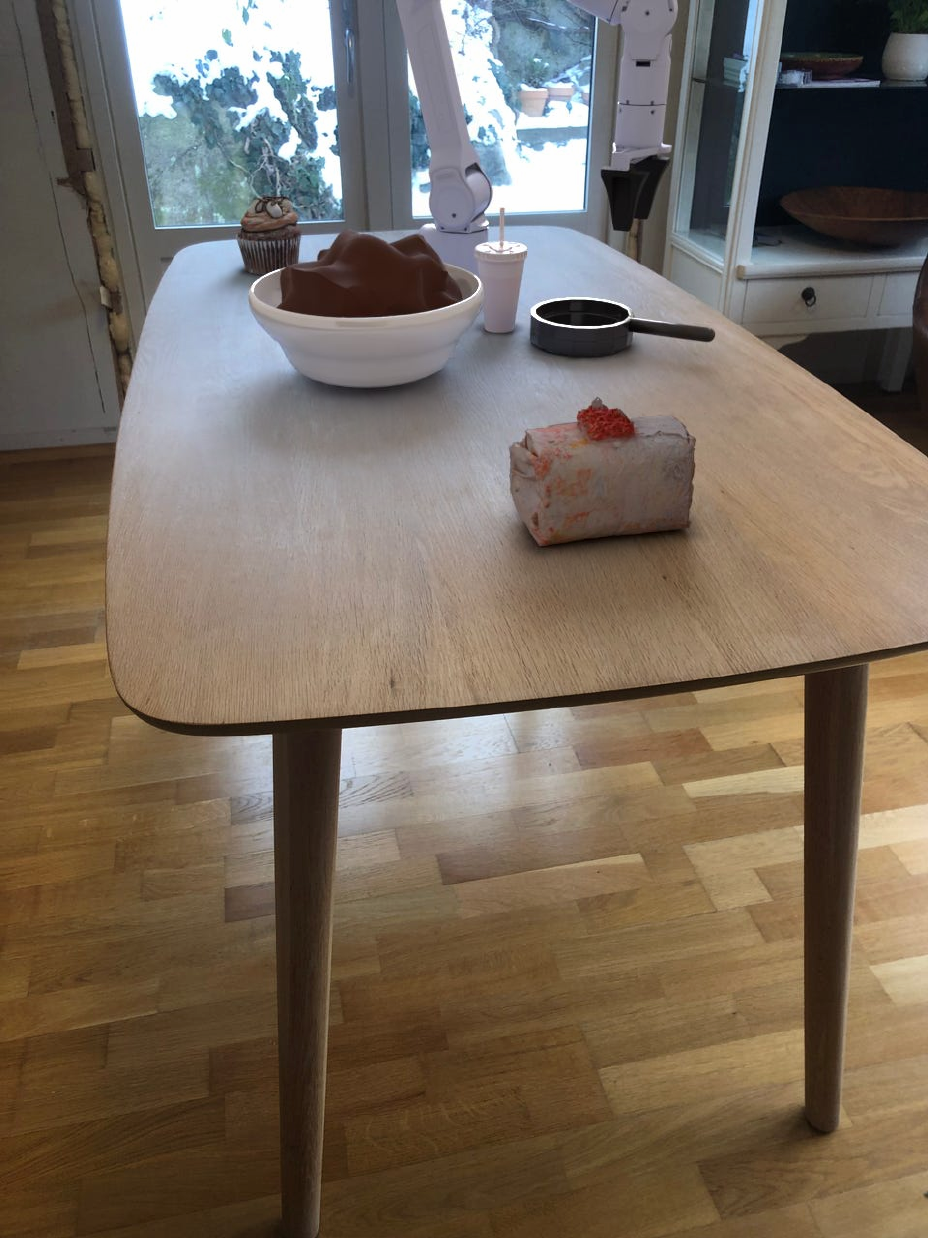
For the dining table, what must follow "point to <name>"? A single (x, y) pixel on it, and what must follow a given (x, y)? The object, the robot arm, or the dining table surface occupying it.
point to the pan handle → (671, 330)
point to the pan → (581, 326)
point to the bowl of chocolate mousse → (368, 311)
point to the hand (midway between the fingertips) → (630, 224)
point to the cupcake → (269, 235)
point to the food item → (603, 476)
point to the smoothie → (500, 280)
